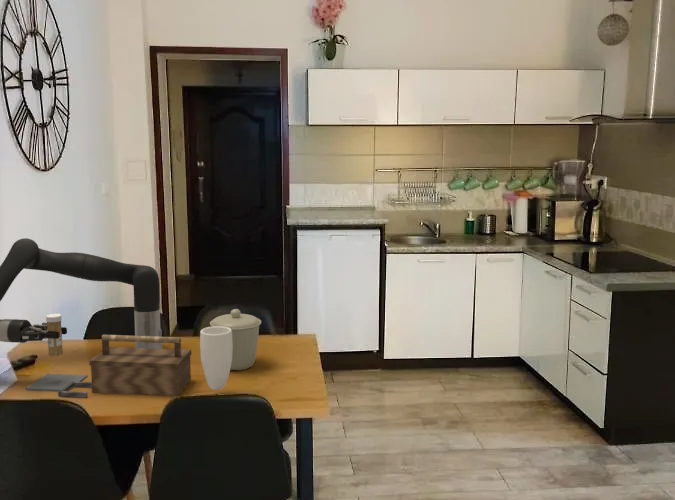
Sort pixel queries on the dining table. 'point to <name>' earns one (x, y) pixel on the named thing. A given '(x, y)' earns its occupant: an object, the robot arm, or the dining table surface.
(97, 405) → the dining table surface
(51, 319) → the sprinkles bottle
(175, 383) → the toolbox
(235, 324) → the canister
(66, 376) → the slate mat
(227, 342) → the cup
